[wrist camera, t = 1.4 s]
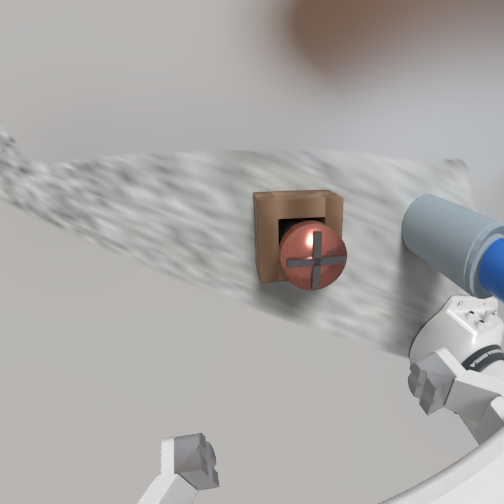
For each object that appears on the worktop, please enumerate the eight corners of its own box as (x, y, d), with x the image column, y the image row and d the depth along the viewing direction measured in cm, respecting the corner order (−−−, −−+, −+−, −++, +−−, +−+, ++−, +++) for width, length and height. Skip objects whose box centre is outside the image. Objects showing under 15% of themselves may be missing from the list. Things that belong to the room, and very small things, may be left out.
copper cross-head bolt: (316, 202, 36) (350, 227, 26) (315, 249, 38) (345, 289, 28) (266, 204, 36) (283, 231, 25) (268, 252, 38) (283, 295, 28)
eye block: (328, 189, 36) (343, 197, 31) (326, 259, 39) (339, 276, 34) (253, 192, 35) (257, 200, 30) (256, 264, 38) (260, 282, 33)
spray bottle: (452, 198, 37) (589, 261, 14) (441, 255, 40) (559, 342, 17) (407, 191, 36) (561, 261, 13) (396, 254, 39) (521, 361, 16)
